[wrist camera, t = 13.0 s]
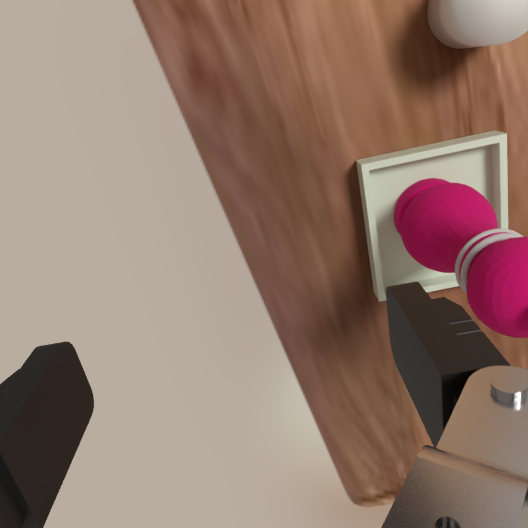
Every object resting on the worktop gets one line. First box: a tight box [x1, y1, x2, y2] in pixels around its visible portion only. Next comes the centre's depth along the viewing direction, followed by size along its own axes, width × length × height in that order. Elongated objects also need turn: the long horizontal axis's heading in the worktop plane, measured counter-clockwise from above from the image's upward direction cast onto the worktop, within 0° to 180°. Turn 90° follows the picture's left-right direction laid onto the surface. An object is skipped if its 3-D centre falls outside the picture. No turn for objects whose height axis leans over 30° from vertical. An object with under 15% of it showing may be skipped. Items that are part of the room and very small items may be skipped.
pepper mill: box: [394, 178, 528, 338], centre depth 34 cm, size 7×7×20 cm
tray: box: [356, 130, 508, 302], centre depth 43 cm, size 13×12×2 cm
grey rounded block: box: [427, 0, 528, 49], centre depth 35 cm, size 6×6×6 cm
